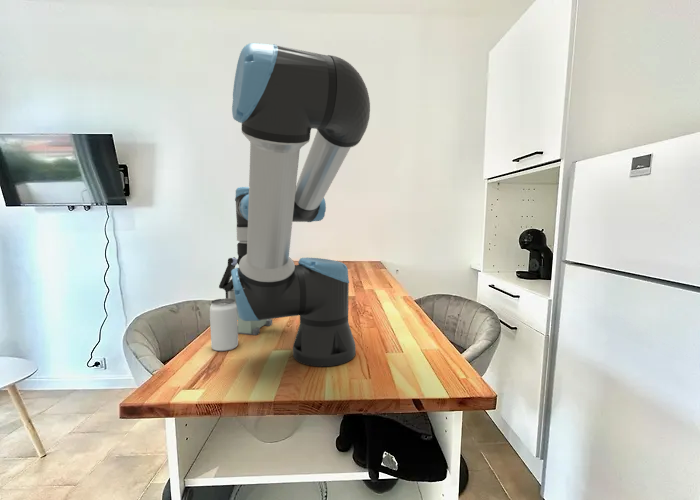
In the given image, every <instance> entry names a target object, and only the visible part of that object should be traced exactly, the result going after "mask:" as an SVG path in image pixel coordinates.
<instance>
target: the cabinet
mask: <svg viewBox="0 0 700 500" xmlns="http://www.w3.org/2000/svg"><path fill="white" fill-rule="evenodd" d="M231 279H232V277H231V278H230V280H231ZM230 280H229V282H230ZM232 290H234V287H233V289H232ZM235 300H236V298H235ZM237 320H238V312H237ZM272 325H273V319H267V321H266V324H265V325H263V326H262V327H264V326H265V327H270V326H272ZM259 334H261V327H260V328H257V327H256V328H255V329H253V333H251V334H249V333H239V332H238V335H250V336H251V335H252V336H257V335H259Z"/></svg>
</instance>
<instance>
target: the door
mask: <svg viewBox="0 0 700 500" xmlns="http://www.w3.org/2000/svg"><path fill="white" fill-rule="evenodd" d="M237 312H238V311H237ZM266 321H267V319H265V320H261V321H244V320H242V319H240V318H239V316H238V321H237V323H238V332H239V333H249V334H251V333H253V329H255V328H256V327H257V328H260V329H261V327H264V326H263V325H265V324H266ZM249 334H248V335H249Z"/></svg>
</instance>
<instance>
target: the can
mask: <svg viewBox="0 0 700 500" xmlns="http://www.w3.org/2000/svg"><path fill="white" fill-rule="evenodd" d="M210 303H211V305H210V307H209V320H210V321H209V323H210V324H209V325H210V341H211V343H210V346H211V349H212V350H213V351H216V352H229V351H231V350H234V349H236V347H237V346H239V334H238V321H237V305H236V304H235V300H234V299H230V298H226V297H223V298H217V299H213V300H212V301H211V302H210Z"/></svg>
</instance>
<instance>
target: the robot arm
mask: <svg viewBox="0 0 700 500" xmlns="http://www.w3.org/2000/svg"><path fill="white" fill-rule="evenodd" d="M237 59H238V60H237V64H236V69H235V76H234V83H233V91H232V107H231V113H232V117H233V120H234V121H236V122H238V123H241V134H242V135H244V136H245V138H246V139H247V140H248V141H249V142H250V147H249V149H250V150H249V152H250V153H249V174H248V175H249V178H248V179H249V180H248V186H239V187H237V188H236V190H235V196H234V197H235V198H234V201H235V212H236V214H235V216H236V241H238V243H237V245H236V247H237V248H236V249H237V252H236V253H237V256H238V257H237V258H236V257H235V256H232V257H229V258H228V259H227V266H226V268H225V271H224V273H223V275H222V278H221V280H220V282H219V284H218V285H219V286H218V288H219V289H220V290H224V292H225V298H230V299H234V300H235V298H236V300H235V304H236V305H237V311H238V316H239V318H240V319H242V320H244V321H261V320H265V319H272V320H274V319H280V318H286V317H289V318H290V317H297V316H299V326H298V330H297V332H296V335H295V339H294V341H293V345H292V346H293V347H292V356H293V358H294V359H295V361H297V362H298V363H300V364H304V365H306V366H311V367H319V368H320V367H333V366H339V365H342V364H346V363H348V362H349V361H351V360H353V359H354V357H355V356H356V342H355V339H354V338H355V337H354V336H353V333H352V329H351V326H350V324H349V323H350V322H349V290H350V289H349V288H350V287H349V284H350V280H349V268H348V266H347V265H346V264H345V263H344V262H342V261H338V260H334V259H329V258H320V257H319V258H318V257H300V258H299V260H298V264H295V261H294V260H293V259H292V258H291V257H290V250H291V249H290V247H291V238H292V229H293V223H294V222H296V223H305V222H307V223H313V222H321V221H323V219H324V218H325V216H326V209H327V207H326V206H327V205H326V200H325V196H326V195H327V193H328V190H329V189H330V187H331V184H332V183H333V181H334V179H335V178H336V176H337V174H338V172H339V171H340V168H341V167H342V165H343V163H344V161H345V159H346V157H347V156H348V154H349V151H350V150H351V148H354V147H356V146H357V145H358V144H359V143H360V142H361V140H362V138H363V136H364V135H365V133H366V130H367V128H368V125H369V123H370V122H369V121H370V116H371V115H370V113H371V102H370V101H371V100H370V97H369V92H368V88H367V85H366V82H364V79H363V77H362V76H361V74H360V72H358V70H357V69H356V68H355V67H354V65H352V64H351V63H350V62H348V61H346V60H345V59H343V58H341V57H338V56H335V55H329V54H328V55H326V54H321V53H317V52H311V51H306V50H302V49H301V50H300V49H296V48H291V47H285V46H281V45H277V44H275V43H274V44H270V43H269V44H268V43H260V42H259V43H258V42H249V43H248V44H246V45H244V47H243V48H242V49H241V51H240V53H239V57H238V58H237ZM313 129H316V132H315V135H314V138H313V141H312V144H311V147H310V149H309V150H308V154H307V157H306V159H305V162H304V165H303V168H302V170H301V172H300V176H299V178H298V172H299V171H298V170H299V169H298V168H299V161H300V160H299V159H300V150H301V149H302V148H303V147H304V146H305V145H307V144H308V143H309V142H310V140H311V131H312V130H313ZM237 265H238V267H236V266H237ZM231 278H232V279H231ZM230 279H231V280H230ZM229 280H230V282H229ZM233 287H234V290H232V289H233Z"/></svg>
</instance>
